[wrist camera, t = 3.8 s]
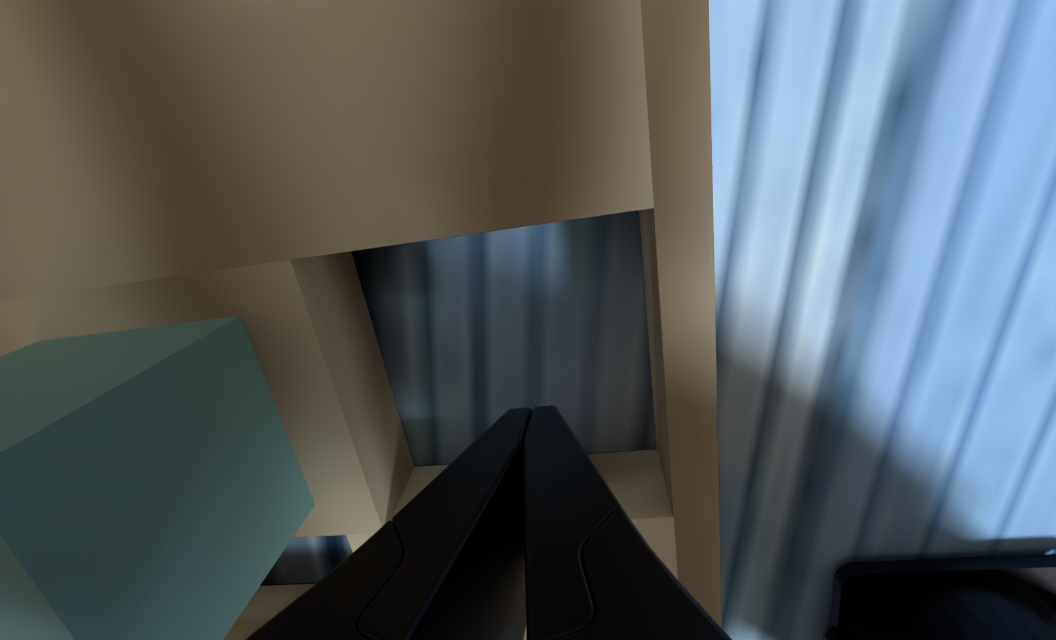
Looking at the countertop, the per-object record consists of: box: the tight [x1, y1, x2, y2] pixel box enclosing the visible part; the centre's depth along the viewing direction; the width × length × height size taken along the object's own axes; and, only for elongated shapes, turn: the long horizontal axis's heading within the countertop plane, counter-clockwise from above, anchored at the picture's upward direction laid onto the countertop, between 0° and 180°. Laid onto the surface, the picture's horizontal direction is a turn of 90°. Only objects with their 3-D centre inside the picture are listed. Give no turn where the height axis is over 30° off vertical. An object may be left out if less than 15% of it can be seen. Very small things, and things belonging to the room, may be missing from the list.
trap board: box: [0, 0, 722, 640], centre depth 11 cm, size 26×18×6 cm
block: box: [0, 316, 315, 640], centre depth 9 cm, size 5×5×5 cm
